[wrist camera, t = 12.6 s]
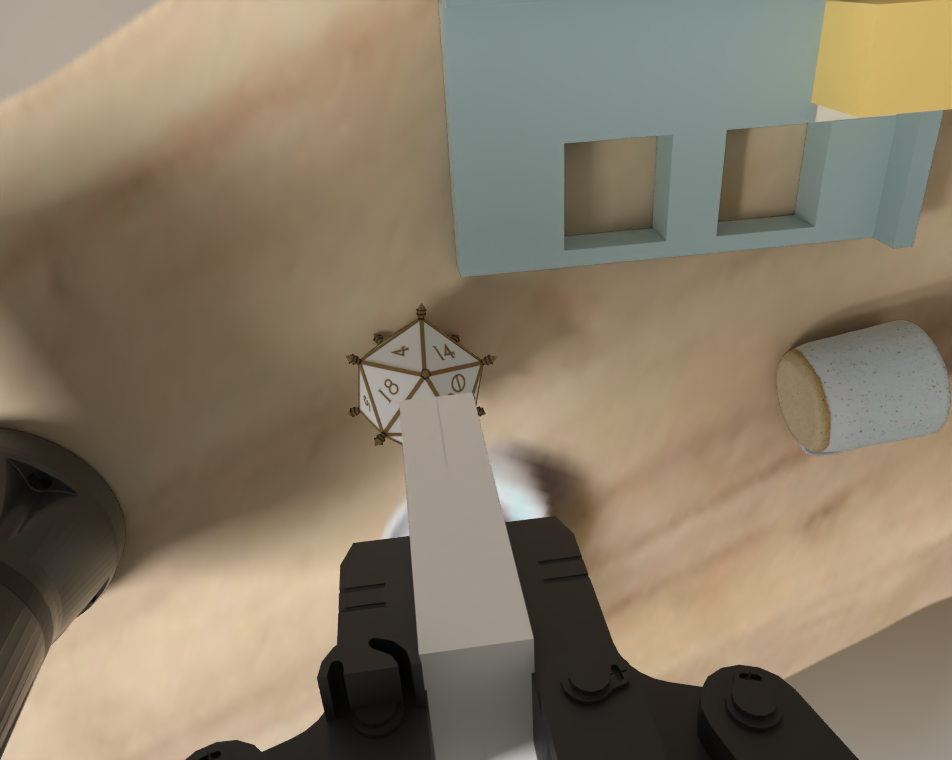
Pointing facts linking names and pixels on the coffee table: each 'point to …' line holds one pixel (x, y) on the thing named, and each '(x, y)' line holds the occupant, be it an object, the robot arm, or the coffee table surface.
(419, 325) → the game die
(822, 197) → the board
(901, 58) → the block
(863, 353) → the ceramic mug
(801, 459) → the coffee table surface
